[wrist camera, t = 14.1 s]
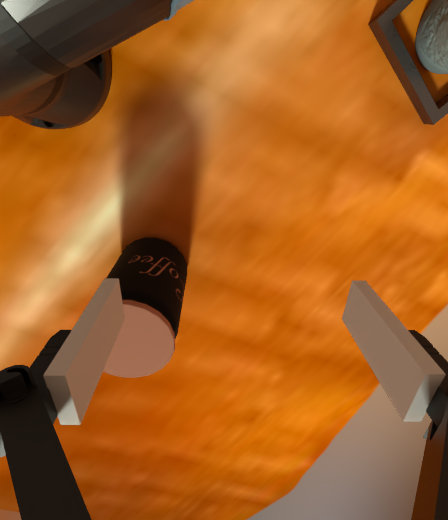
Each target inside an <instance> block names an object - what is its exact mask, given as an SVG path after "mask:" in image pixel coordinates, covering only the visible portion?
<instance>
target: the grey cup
mask: <svg viewBox="0 0 448 520" xmlns="http://www.w3.org/2000/svg"><path fill="white" fill-rule="evenodd" d="M415 50H416V54H417V57H418V60H419V62H420V63H421V65H422V66H423V67H424V68H426V69H427V70H429V71H431V72H433V73H437V74H448V0H433V1H432V2H431V3H430V5H429V7H428V8H427V9H426V11H425V13H424V14H423V16H422V19H421V21H420V24H419V26H418V30H417V33H416V38H415Z"/></svg>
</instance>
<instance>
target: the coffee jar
mask: <svg viewBox="0 0 448 520" xmlns="http://www.w3.org/2000/svg"><path fill="white" fill-rule="evenodd" d="M186 277H187V264H186V261H185V259H184V256H183V255H182V254H181V252H180V251H179V250H178V249H177V248H176V247H175V246H174V245H172V244H171V243H169V242H167V241H164V240H161V239H158V238H144V239H140V240H137V241H134V242H133V243H131V244H130V245H128V246H127V247H126V249H125V250H124V251H123V253H122V254H121V256H120V257H119V259H118V260H117V262H116V264H115V265H114V267H113V268H112V270H111V272H110V273H109V275H108V276H107V278H114V279H119V284H120V290H121V296H122V303H123V309H124V315H125V319H124V322H123V324H122V327H121V329H120V331H119V334H118V336H117V338H116V341H115V343H114V346H113V348H112V350H111V353H110V355H109V358H108V360H107V362H106V365H105V367H104V369H103V372H106V373H108V374H111V375H115V376H119V377H142V376H147V375H151V374H153V373H155V372H157V371H159V370H160V369H162V368H163V367H164V366H165V365H166V364H167V363H168V362H169V361H170V360H171V357H172V355H173V352H174V350H175V338H176V336H177V333H178V327H179V321H180V314H181V308H182V302H183V296H184V290H185V284H186Z"/></svg>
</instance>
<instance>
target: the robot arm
mask: <svg viewBox="0 0 448 520" xmlns="http://www.w3.org/2000/svg"><path fill="white" fill-rule="evenodd" d="M192 1H193V0H0V116H13V117H15V118H17V119H19V120H21V121H23V122H25V123H28V124H30V125H33V126H36V127H40V128H46V129H65V128H71V127H76V126H79V125H81V124H83V123H85V122H87V121H89V120H90V119H91V118H93V117H94V116H95V115H96V114H97V113H98V112H99V110H100V109H101V108H102V106H103V104H104V103H105V101H106V98H107V96H108V93H109V89H110V85H111V76H112V66H111V57H110V52H109V49H110V48H112V47H114V46H116V45H117V44H119V43H121V42H123V41H125V40H127V39H128V38H130V37H132V36H134V35H136V34H138V33H139V32H141V31H143V30H145V29H147V28H148V27H150V26H152V25H154V24H156V23H158V22H159V21H161V20H164V21H167V20H170V19H171V18H172V17H173V16H174V15H175V14H176V12H177V11H178V10H179V9H181V8H182V7H184V6H186V5H187V4H189V3H190V2H192ZM124 319H125V315H124V309H123V303H122V296H121V290H120V284H119V279H114V278H105V279H104V280H103V282H102V283H101V285H100V286H99V288H98V290H97V291H96V293H95V294H94V296H93V298H92V299H91V301H90V302H89V304H88V305H87V307H86V309H85V310H84V312H83V313H82V315H81V316H80V318H79V320H78V321H77V323H76V324H75V326H74V328H73V329H72V330H60V331H59V332H57V333H56V334H55V335H54V336H52V337H51V338H50V339H49V341H48V342H47V344H46V345H45V346H44V348H43V349H42V351H41V352H40V354H39V356H37V358H36V359H35V361H34V362H33V364H32V365H31V366H30V368H29V367H28V366H24V365H14V366H11V367H8V368H5V369H3V370H2V371H0V457H2V456H5V455H6V457H7V461H8V465H9V470H10V474H11V478H12V482H13V486H14V490H15V494H16V499H17V503H18V507H19V511H20V515H21V519H22V520H91V518H90V515H89V513H88V510H87V508H86V505H85V503H84V500H83V498H82V495H81V493H80V491H79V488H78V486H77V483H76V481H75V478H74V476H73V473H72V471H71V468H70V466H69V463H68V461H67V458H66V456H65V454H64V451H63V449H62V446H61V444H60V441H59V439H58V436H57V434H56V431H55V429H54V426H53V423H54V421H55V419H56V417H57V416H58V419H59V421H60V424H61V425H80V424H81V422H82V420H83V417H84V415H85V412H86V410H87V408H88V405H89V403H90V400H91V398H92V396H93V393H94V391H95V389H96V386H97V384H98V381H99V379H100V377H101V374H102V372H103V369H104V367H105V365H106V362H107V360H108V358H109V355H110V353H111V350H112V348H113V346H114V343H115V341H116V338H117V336H118V334H119V331H120V329H121V327H122V324H123V322H124ZM342 320H343V322H344V323H345V325H346V327H347V328H348V330H349V332H350V333H351V335H352V337H353V338H354V340H355V342H356V343H357V345H358V347H359V348H360V350H361V352H362V354H363V355H364V357H365V359H366V360H367V362H368V364H369V365H370V367H371V369H372V370H373V372H374V374H375V375H376V377H377V379H378V380H379V382H380V384H381V385H382V387H383V389H384V390H385V392H386V394H387V396H388V397H389V399H390V401H391V402H392V404H393V406H394V407H395V408H396V410H397V412H398V414H399V416H400V417H401V419H402V421H403V422H404V421H408V422H411V421H422V419H423V417H424V415H425V413H426V412H427V413H428V415H429V416H430V418H431V419H432V422H431V423H430V425H429V427H428V429H427V431H426V433H425V434H424V437H423V438H425V439H426V438H427V440H426V445H425V451H424V457H423V461H422V466H421V472H420V477H419V482H418V488H417V493H416V498H415V503H414V508H413V514H412V519H411V520H448V362H447V361H446V360H445V359H444V358H443V356H442V355H440V354H439V352H438V351H437V350H436V349H435V348H433V345H432V344H431V343H430V342H429V341H428V340H427V339H426V338H425V337H424V336H422V335H421V334H419V333H418V332H417V331H415V330H407V329H406V327H405V326H404V325H403V324H402V323H401V322H400V320H399V319H398V318H397V317H396V316H395V315H394V313H393V312H392V311H391V310H390V309H389V308H388V306H387V305H386V304H385V303H384V302H383V301H382V299H381V298H380V297H379V296H378V295H377V294H376V292H375V291H374V290H373V289H372V288H371V287H370V285H369V284H368V283H367V282H366V281H352V284H351V287H350V291H349V295H348V299H347V302H346V306H345V310H344V314H343V317H342Z"/></svg>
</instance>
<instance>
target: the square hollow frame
mask: <svg viewBox="0 0 448 520" xmlns="http://www.w3.org/2000/svg"><path fill="white" fill-rule="evenodd" d="M412 1H413V0H393V1H392V2H391V3H390V4H389V5H388V6H387V7H386V8H385V9H384V10H383V11H382V12H381V13H380V14H379V15H377V16H376V17H375V18H374V19H373V20H372V21H371V22H370V23H369V24H368V25H369V26H370V28H371V30H372V32H373V34H374V35H375V37H376V39H377V41H378V43H379V44H380V46H381V48H382V50H383V52H384V53H385V55H386V57H387V59H388V60H389V62H390V64H391V66H392V68H393V69H394V71H395V73H396V75H397V77H398V78H399V80H400V82H401V84H402V86H403V87H404V89H405V91H406V93H407V95H408V96H409V98H410V100H411V102H412V103H413V105H414V107H415V109H416V111H417V112H418V114H419V116H420V118H421V120H422V121H423V123H424V124H432V125H434V124H435V123H436V122H438V121H439V120H440V119H441V118H443V117H444V116H445V115H446V114H448V94H447V95H445V96H444V97H443V98H442V99H440V100H439V101H438V102H437V103H436V104H435V102H434V100H433V98H432V96H431V94H430V93H429V91H428V89H427V87H426V85H425V83H424V81H423V79H422V77H421V75H420V74H419V72H418V70H417V68H416V66H415V64H414V62H413V60H412V58H411V56H410V54H409V53H408V51H407V49H406V47H405V45H404V43H403V41H402V39H401V37H400V35H399V34H398V32H397V30H396V28H395V26H394V24H393V22H392V20H393V19H394V18H395V17H396V16H397V15H398V14H399V13H400V12H401V11H403V10H404V9H405V8H406V7H407V6H408V5H409V4H410V3H411V2H412Z"/></svg>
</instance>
